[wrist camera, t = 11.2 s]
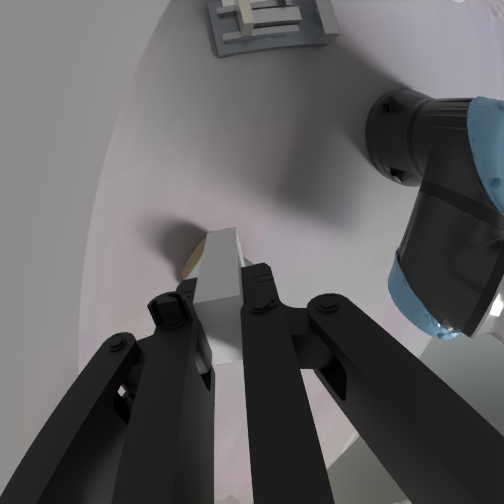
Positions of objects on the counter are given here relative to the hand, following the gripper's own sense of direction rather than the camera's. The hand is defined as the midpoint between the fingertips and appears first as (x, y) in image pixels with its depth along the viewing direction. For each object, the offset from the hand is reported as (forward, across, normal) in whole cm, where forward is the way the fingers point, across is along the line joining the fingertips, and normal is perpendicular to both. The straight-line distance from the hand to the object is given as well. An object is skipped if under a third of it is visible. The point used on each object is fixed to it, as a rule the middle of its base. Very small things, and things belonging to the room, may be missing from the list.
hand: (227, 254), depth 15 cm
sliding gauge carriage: (+25, -9, -22) cm, 35 cm away
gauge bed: (+26, -10, -22) cm, 35 cm away
